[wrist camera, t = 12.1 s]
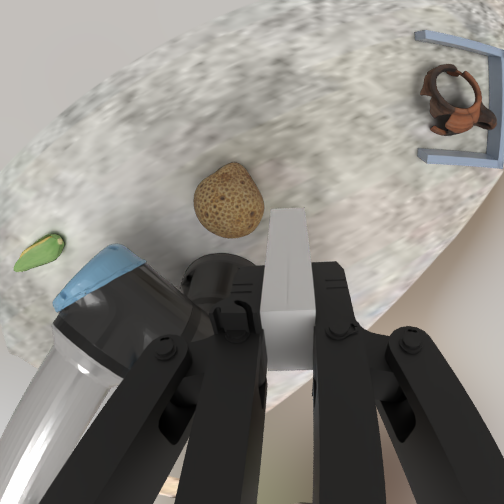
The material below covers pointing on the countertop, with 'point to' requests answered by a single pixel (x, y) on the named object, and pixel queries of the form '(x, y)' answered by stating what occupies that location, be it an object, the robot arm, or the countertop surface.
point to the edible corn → (40, 253)
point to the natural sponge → (229, 202)
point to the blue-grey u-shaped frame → (500, 103)
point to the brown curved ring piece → (459, 117)
